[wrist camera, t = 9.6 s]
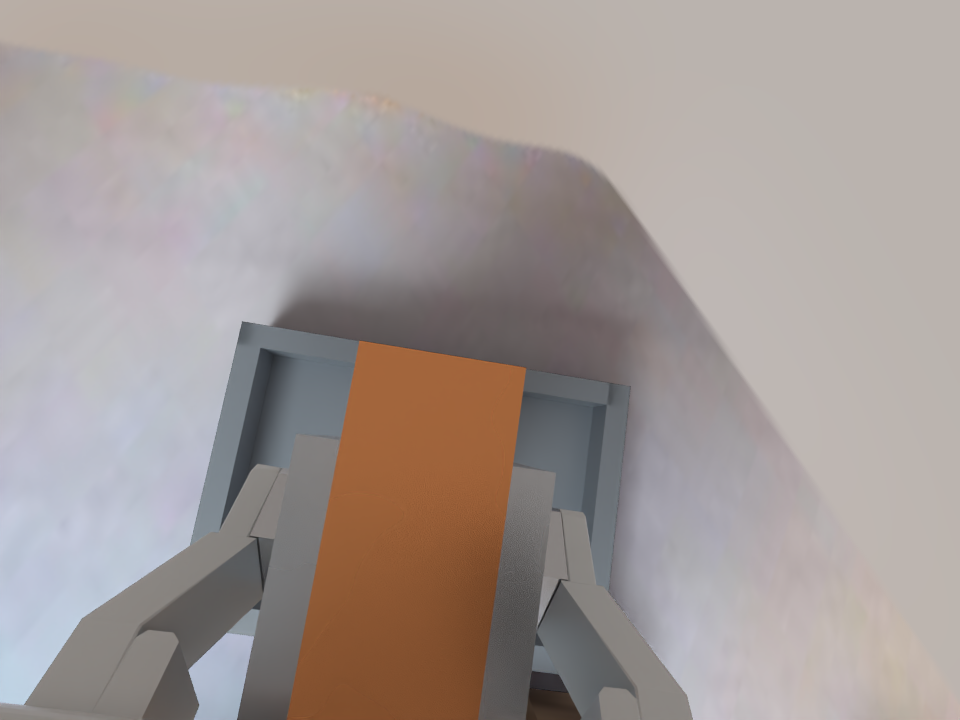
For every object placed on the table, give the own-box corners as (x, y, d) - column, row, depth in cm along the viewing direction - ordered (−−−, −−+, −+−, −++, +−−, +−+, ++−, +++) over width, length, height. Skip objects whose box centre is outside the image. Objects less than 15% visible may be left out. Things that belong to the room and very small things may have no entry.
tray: (203, 602, 19) (171, 625, 17) (263, 334, 21) (242, 321, 18) (579, 650, 20) (599, 679, 18) (608, 392, 22) (630, 386, 19)
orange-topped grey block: (355, 581, 18) (164, 922, 5) (386, 404, 19) (291, 329, 6) (460, 595, 18) (525, 955, 5) (486, 420, 19) (590, 378, 6)
